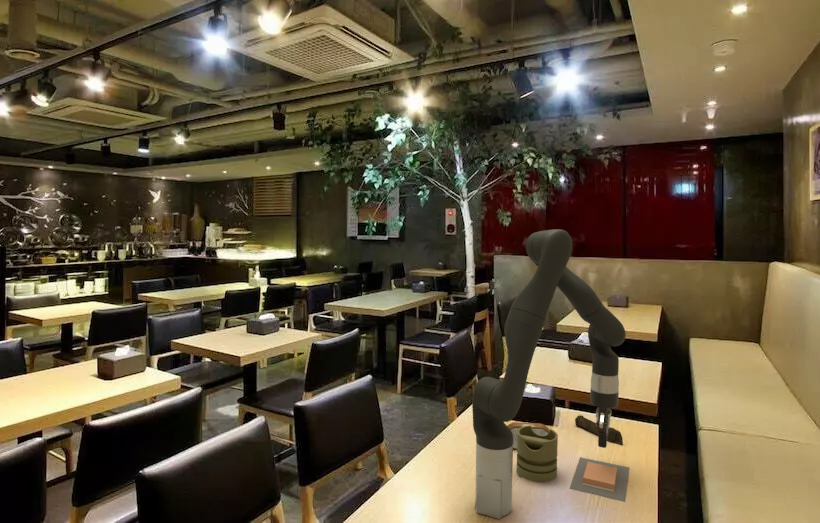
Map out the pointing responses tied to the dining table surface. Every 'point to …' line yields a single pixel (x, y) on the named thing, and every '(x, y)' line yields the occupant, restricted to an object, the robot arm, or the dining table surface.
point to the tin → (536, 427)
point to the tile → (600, 476)
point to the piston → (536, 455)
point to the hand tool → (612, 436)
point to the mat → (617, 494)
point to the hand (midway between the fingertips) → (602, 446)
